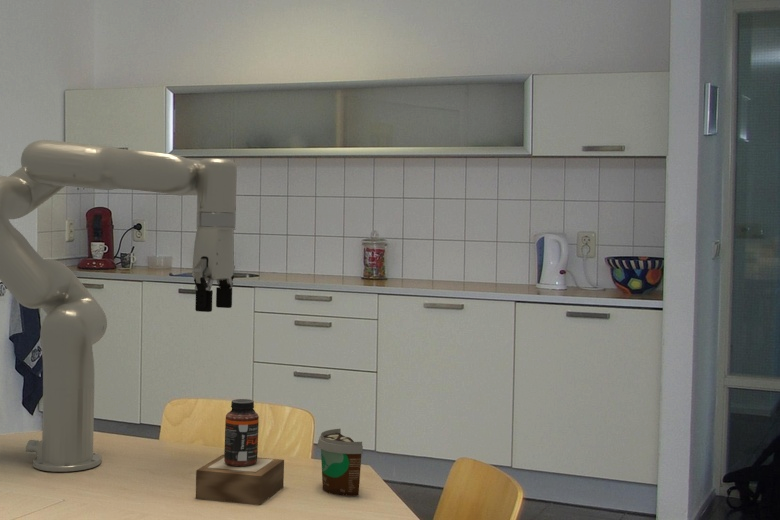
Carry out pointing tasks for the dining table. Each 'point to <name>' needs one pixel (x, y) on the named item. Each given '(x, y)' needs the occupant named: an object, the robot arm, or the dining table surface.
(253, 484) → the walnut base
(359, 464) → the food container
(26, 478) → the dining table surface
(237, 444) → the supplement bottle
